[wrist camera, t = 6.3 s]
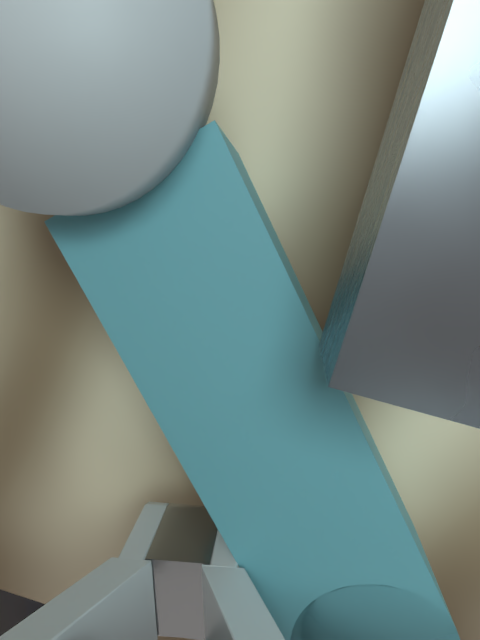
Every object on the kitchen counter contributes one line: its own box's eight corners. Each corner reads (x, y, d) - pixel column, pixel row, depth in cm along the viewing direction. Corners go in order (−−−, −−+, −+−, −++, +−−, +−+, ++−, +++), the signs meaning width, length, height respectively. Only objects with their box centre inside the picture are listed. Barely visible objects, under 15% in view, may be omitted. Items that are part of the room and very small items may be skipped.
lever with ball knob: (-10, 58, 8) (-190, -43, 5) (173, -77, 7) (86, -301, 4) (296, 615, 10) (298, 776, 7) (467, 568, 9) (551, 731, 6)
